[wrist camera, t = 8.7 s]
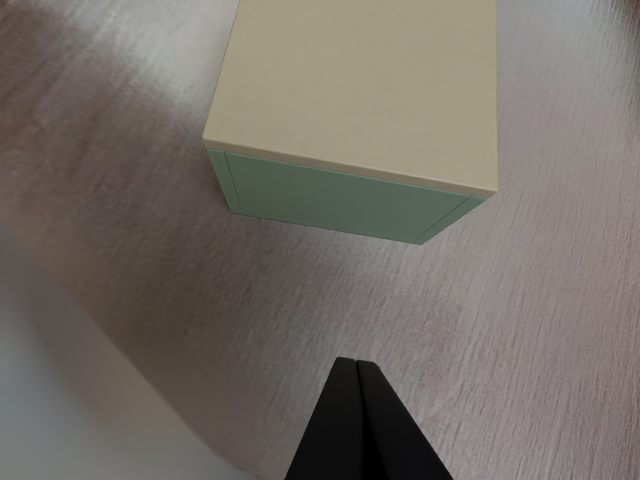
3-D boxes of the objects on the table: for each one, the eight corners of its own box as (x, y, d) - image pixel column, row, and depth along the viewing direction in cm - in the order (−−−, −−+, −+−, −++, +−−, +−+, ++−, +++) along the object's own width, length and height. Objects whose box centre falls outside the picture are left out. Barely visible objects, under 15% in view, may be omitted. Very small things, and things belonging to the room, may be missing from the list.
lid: (256, -43, 18) (255, -59, 18) (488, 7, 19) (497, -8, 18) (204, 148, 15) (200, 138, 14) (488, 199, 16) (499, 191, 15)
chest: (261, 77, 26) (253, -32, 18) (430, 110, 26) (488, 18, 19) (230, 213, 22) (205, 148, 15) (422, 245, 23) (488, 199, 16)
